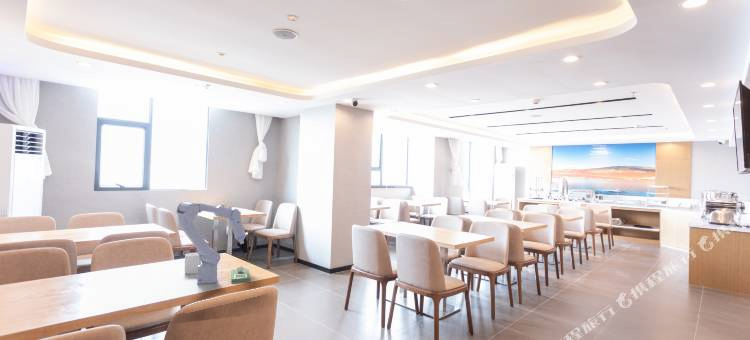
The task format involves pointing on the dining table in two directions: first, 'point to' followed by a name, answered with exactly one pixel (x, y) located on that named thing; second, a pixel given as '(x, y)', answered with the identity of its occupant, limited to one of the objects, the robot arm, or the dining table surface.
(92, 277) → the dining table surface
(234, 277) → the green
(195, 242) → the robot arm
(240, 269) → the ball
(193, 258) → the cup
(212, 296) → the dining table surface
